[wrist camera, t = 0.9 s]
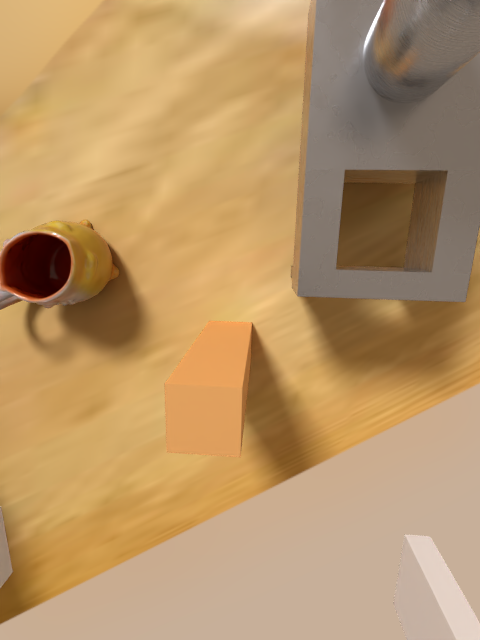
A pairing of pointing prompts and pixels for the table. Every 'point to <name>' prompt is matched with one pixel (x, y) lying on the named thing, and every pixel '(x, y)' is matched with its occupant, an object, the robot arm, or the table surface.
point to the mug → (55, 265)
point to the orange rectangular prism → (210, 392)
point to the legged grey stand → (391, 141)
